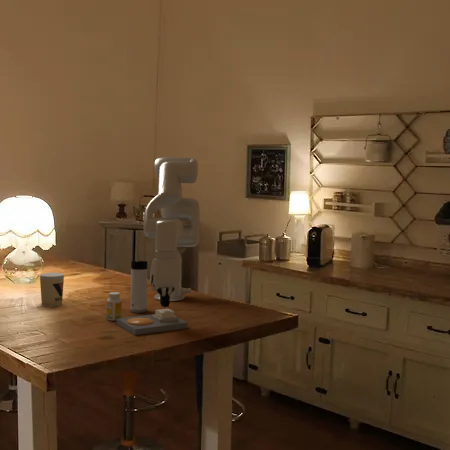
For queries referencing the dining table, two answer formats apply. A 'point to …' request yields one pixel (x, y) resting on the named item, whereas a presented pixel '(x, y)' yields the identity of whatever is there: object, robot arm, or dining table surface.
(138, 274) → the travel mug
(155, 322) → the grey flat rectangular block
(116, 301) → the supplement bottle
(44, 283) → the coffee cup
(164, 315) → the button
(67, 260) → the dining table surface
